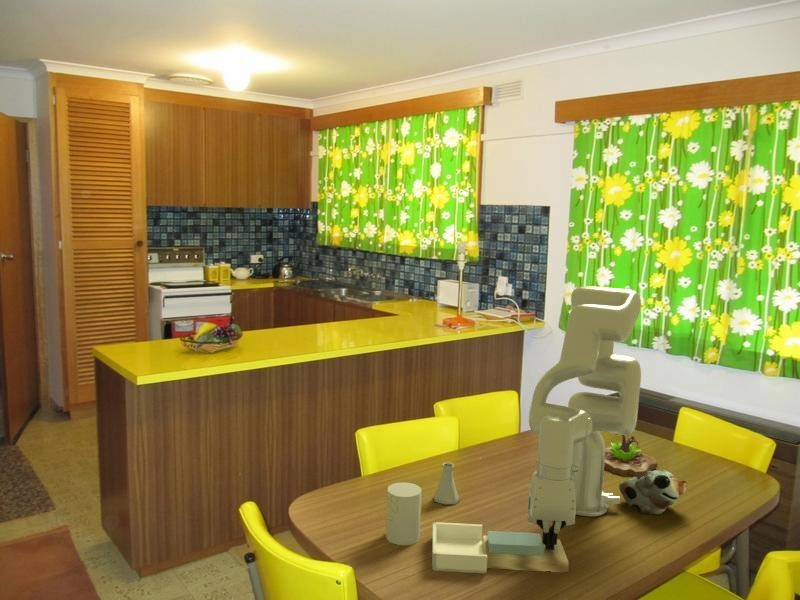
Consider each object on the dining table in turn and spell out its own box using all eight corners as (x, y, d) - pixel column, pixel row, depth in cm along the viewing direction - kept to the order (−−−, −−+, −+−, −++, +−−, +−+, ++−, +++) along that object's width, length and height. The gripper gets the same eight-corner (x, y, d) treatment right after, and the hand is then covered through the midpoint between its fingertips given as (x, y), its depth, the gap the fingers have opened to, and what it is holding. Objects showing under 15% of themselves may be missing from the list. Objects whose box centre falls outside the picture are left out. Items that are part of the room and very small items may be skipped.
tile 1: (513, 541, 150) (513, 532, 150) (516, 554, 144) (517, 545, 144) (487, 539, 151) (487, 530, 150) (489, 552, 145) (490, 543, 144)
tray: (481, 540, 155) (482, 524, 155) (486, 573, 141) (487, 556, 140) (432, 537, 156) (432, 522, 155) (432, 570, 141) (433, 553, 141)
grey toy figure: (654, 493, 185) (682, 459, 179) (672, 527, 175) (703, 493, 169) (610, 482, 181) (637, 447, 175) (626, 516, 171) (655, 480, 165)
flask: (458, 507, 173) (459, 471, 172) (431, 503, 174) (432, 468, 173) (461, 495, 180) (462, 461, 179) (435, 492, 181) (436, 458, 180)
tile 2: (539, 542, 150) (539, 533, 150) (543, 555, 144) (544, 546, 144) (513, 540, 150) (513, 532, 150) (516, 554, 144) (516, 545, 144)
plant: (607, 448, 222) (609, 417, 220) (664, 465, 208) (667, 431, 207) (579, 464, 207) (581, 430, 206) (638, 482, 194) (641, 446, 192)
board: (559, 549, 152) (559, 539, 152) (567, 572, 142) (568, 562, 142) (482, 545, 153) (483, 535, 153) (485, 568, 143) (486, 557, 143)
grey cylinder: (385, 528, 159) (386, 482, 158) (417, 528, 160) (419, 482, 159) (387, 545, 151) (388, 497, 150) (421, 545, 152) (423, 496, 151)
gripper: (583, 465, 148) (578, 540, 150) (518, 462, 148) (513, 537, 151) (592, 478, 141) (586, 557, 143) (523, 475, 141) (518, 553, 143)
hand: (549, 546), depth 147 cm, fingers closed
